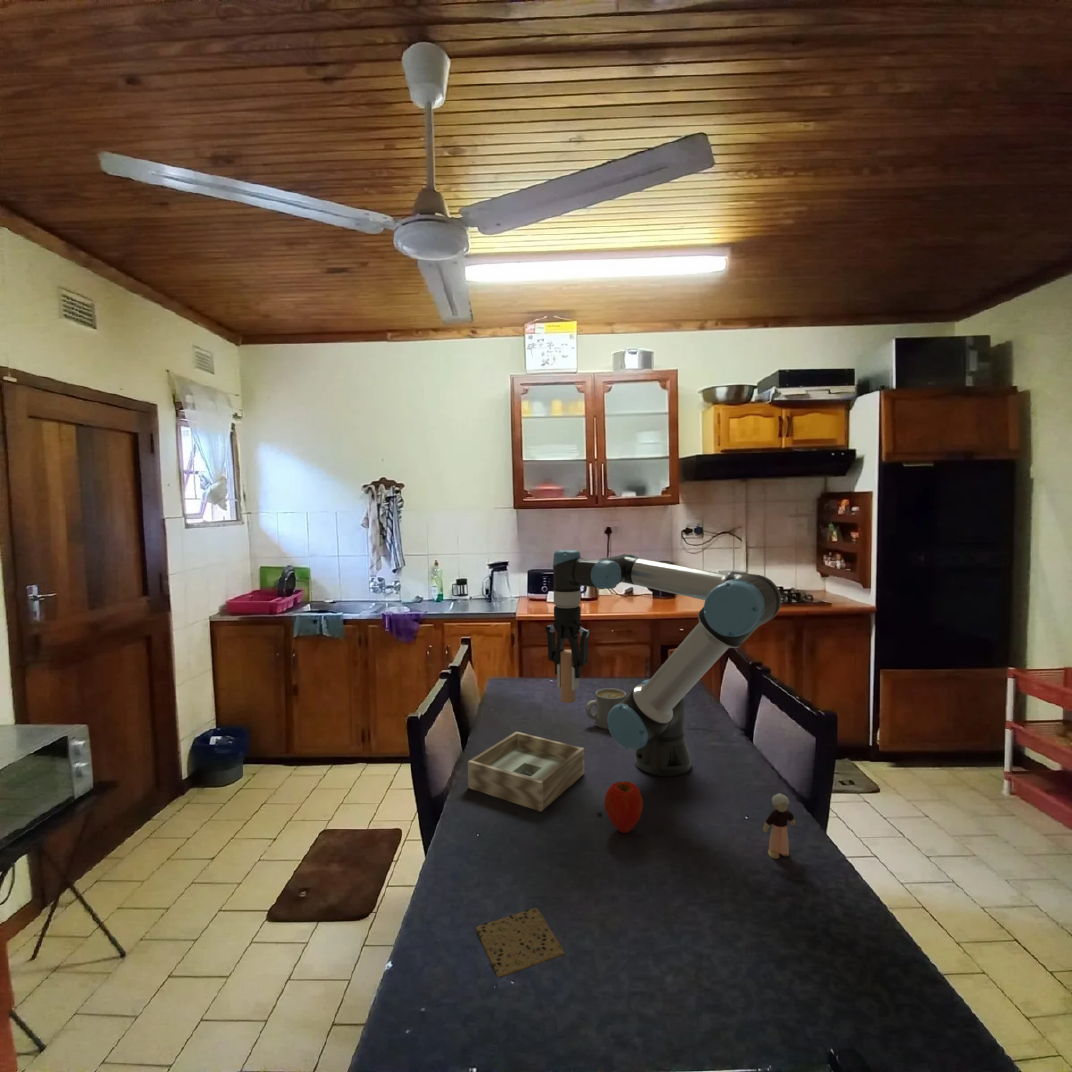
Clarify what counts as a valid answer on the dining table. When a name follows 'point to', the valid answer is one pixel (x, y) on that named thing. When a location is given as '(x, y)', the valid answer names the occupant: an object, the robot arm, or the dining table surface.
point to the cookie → (518, 942)
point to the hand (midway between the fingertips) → (568, 687)
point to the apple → (624, 805)
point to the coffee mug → (604, 705)
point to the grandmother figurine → (779, 826)
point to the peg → (567, 677)
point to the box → (526, 770)
